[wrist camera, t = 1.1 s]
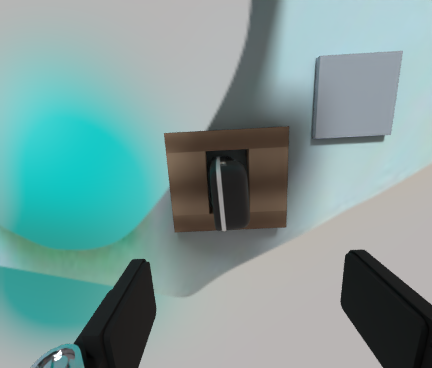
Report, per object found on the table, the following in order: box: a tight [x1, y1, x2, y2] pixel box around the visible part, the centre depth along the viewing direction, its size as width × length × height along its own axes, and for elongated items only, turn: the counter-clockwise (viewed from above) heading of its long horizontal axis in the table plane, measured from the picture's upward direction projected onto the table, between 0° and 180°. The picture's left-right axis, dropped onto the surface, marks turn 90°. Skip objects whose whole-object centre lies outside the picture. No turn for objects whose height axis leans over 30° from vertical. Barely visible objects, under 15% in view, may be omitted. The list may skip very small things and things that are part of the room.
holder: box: [164, 126, 289, 232], centre depth 30 cm, size 14×16×3 cm
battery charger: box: [210, 156, 250, 231], centre depth 26 cm, size 7×4×11 cm, turn 6°
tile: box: [312, 51, 403, 139], centre depth 28 cm, size 10×10×1 cm
